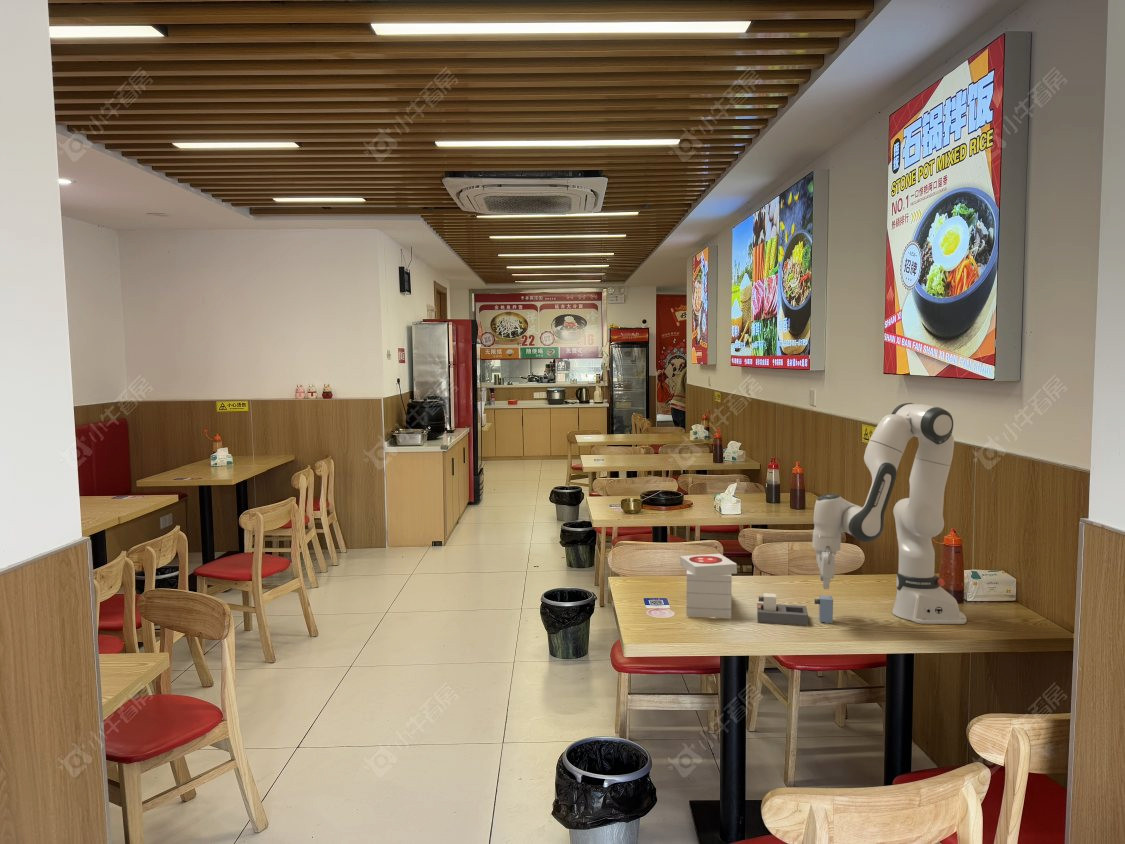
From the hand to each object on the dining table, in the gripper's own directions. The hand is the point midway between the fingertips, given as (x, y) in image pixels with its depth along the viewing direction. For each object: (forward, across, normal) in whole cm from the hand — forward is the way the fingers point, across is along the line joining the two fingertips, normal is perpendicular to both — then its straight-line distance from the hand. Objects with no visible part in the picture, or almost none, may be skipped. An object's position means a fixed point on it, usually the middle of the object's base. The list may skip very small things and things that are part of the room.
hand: (824, 584), depth 254 cm
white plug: (+13, -1, +17) cm, 21 cm away
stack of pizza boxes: (+14, +8, +38) cm, 41 cm away
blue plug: (+12, 0, -1) cm, 12 cm away
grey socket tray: (+13, -1, +13) cm, 18 cm away
